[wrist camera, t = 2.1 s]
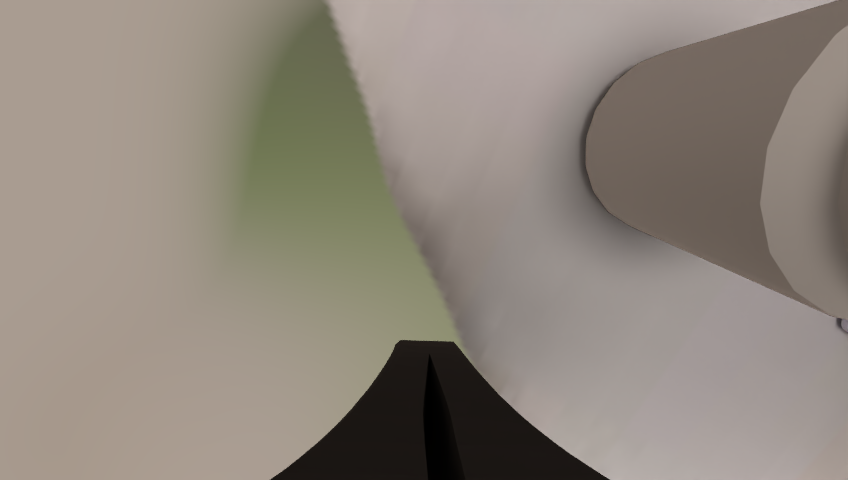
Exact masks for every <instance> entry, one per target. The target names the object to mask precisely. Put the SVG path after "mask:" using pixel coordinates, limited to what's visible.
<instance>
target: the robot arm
mask: <svg viewBox="0 0 848 480" xmlns="http://www.w3.org/2000/svg"><path fill="white" fill-rule="evenodd" d="M841 326H842V328H843V329H844V330H845V331H846V332H848V320H846V319H842V322H841ZM271 480H609V479H608V478H606V477H605V476H603V475H601V474H600V473H598V472H597V471H595V470H594V469H592V468H591V467H589V466H588V465H586V464H585V463H583V462H581V461H580V460H578V459H577V458H575V457H574V456H572V455H571V454H570V453H568V452H567V451H565V450H564V449H562V448H561V447H560V446H558V445H557V444H556V443H554V442H553V441H552V440H550V439H549V438H548V437H547V436H545V435H544V434H543V433H542V432H540V431H539V430H538V429H536V428H535V427H534V426H533V425H531V424H530V423H529V422H528V421H527V420H525V419H524V418H523V417H522V416H521V415H520V414H519V413H518V412H517V411H515V410H514V409H513V408H512V407H511V406H510V405H509V404H508V403H507V402H506V401H505V400H504V399H503V398H502V397H501V396H500V395H499V394H498V393H497V392H496V391H495V390H494V389H493V388H492V387H491V386H490V385H489V384H488V382H487V381H486V380H485V379H484V378H483V377H482V376H481V375H480V373H479V372H478V371H477V370H476V369H475V368H474V366H473V365H472V364H471V363H470V361H469V360H468V359H467V358H466V356H465V355H464V354H463V353H462V351H461V350H460V349H459V348H458V346H457V345H456V344H455V343H454V342H444V341H411V340H409V341H408V340H400V341H399V342H398V343H397V344H396V345H395V347H394V350H393V352H392V354H391V356H390V358H389V359H388V361H387V363H386V364H385V366H384V368H383V369H382V370H381V372H380V373H379V375H378V376H377V378H376V379H375V380H374V382H373V383H372V385H371V386H370V387H369V389H368V390H367V391H366V392H365V394H364V395H363V396H362V397H361V398H360V399H359V401H358V402H357V403H356V404H355V406H354V407H353V408H352V409H351V410H350V411H349V412H348V413H347V415H346V416H345V417H344V418H343V419H342V420H341V421H340V422H339V423H338V424H337V425H336V426H335V427H334V428H333V429H332V430H331V431H330V432H329V433H328V434H327V435H326V436H324V437H323V438H322V439H321V440H320V441H319V442H318V443H317V444H316V445H315V446H313V447H312V448H311V449H310V450H309V451H307V452H306V453H305V454H304V455H303V456H301V457H300V458H299V459H298V460H296V461H295V462H294V463H292V464H291V465H290V466H289V467H287V468H286V469H285V470H283V471H282V472H281V473H279V474H278V475H276V476H275V477H273V478H272V479H271Z"/></svg>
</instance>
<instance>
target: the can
mask: <svg viewBox="0 0 848 480" xmlns="http://www.w3.org/2000/svg"><path fill="white" fill-rule="evenodd" d="M586 169H587V172H588V176H589V179H590V182H591V186H592V189H593V192H594V193H595V194H596V196H597V197H598V199H599V200H600V201H601V203H602V204H603V205H604V207H605V208H606V209H607V211H608V212H609V213H611V214H612V215H614V216H615V217H617V218H618V219H620V220H621V221H623V222H624V223H626V224H627V225H629V226H631V227H633V228H636V229H638V230H640V231H642V232H645V233H647V234H649V235H651V236H653V237H656V238H658V239H660V240H662V241H665V242H667V243H669V244H671V245H674V246H676V247H678V248H680V249H682V250H685V251H687V252H689V253H691V254H694V255H696V256H698V257H700V258H703V259H705V260H707V261H709V262H712V263H714V264H716V265H718V266H720V267H723V268H725V269H727V270H729V271H732V272H734V273H736V274H738V275H741V276H743V277H745V278H747V279H749V280H752V281H754V282H756V283H758V284H761V285H763V286H765V287H767V288H770V289H772V290H774V291H776V292H779V293H781V294H783V295H785V296H787V297H790V298H792V299H794V300H796V301H799V302H801V303H803V304H805V305H808V306H810V307H812V308H814V309H816V310H819V311H821V312H823V313H825V314H828V315H830V316H833V317H837V318H842V319H846V320H848V0H838V1H834V2H831V3H828V4H824V5H821V6H818V7H814V8H811V9H808V10H804V11H801V12H798V13H794V14H791V15H788V16H784V17H781V18H778V19H774V20H771V21H768V22H764V23H761V24H758V25H754V26H751V27H748V28H744V29H741V30H738V31H734V32H731V33H728V34H724V35H721V36H717V37H714V38H711V39H707V40H704V41H701V42H697V43H694V44H691V45H687V46H684V47H681V48H677V49H674V50H671V51H667V52H665V53H662V54H660V55H657V56H655V57H652V58H650V59H648V60H645V61H643V62H640V63H638V64H637V65H635V66H634V67H633V68H632V69H630V70H629V71H628V72H627V73H626V74H624V75H623V76H622V77H621V78H619V79H618V80H617V81H616V82H615V83H613V85H612V86H611V88H610V89H609V91H608V92H607V93H606V95H605V96H604V98H603V99H602V101H601V102H600V104H599V105H598V107H597V108H596V110H595V113H594V116H593V119H592V122H591V125H590V128H589V131H588V134H587V137H586Z"/></svg>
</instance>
